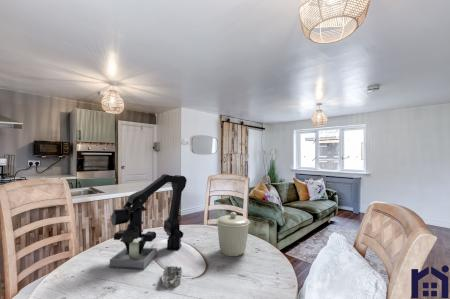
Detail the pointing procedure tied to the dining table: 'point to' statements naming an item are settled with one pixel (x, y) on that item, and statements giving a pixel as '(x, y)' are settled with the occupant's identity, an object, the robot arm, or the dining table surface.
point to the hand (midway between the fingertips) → (134, 253)
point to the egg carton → (171, 276)
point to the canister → (232, 234)
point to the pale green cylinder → (134, 249)
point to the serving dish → (141, 263)
